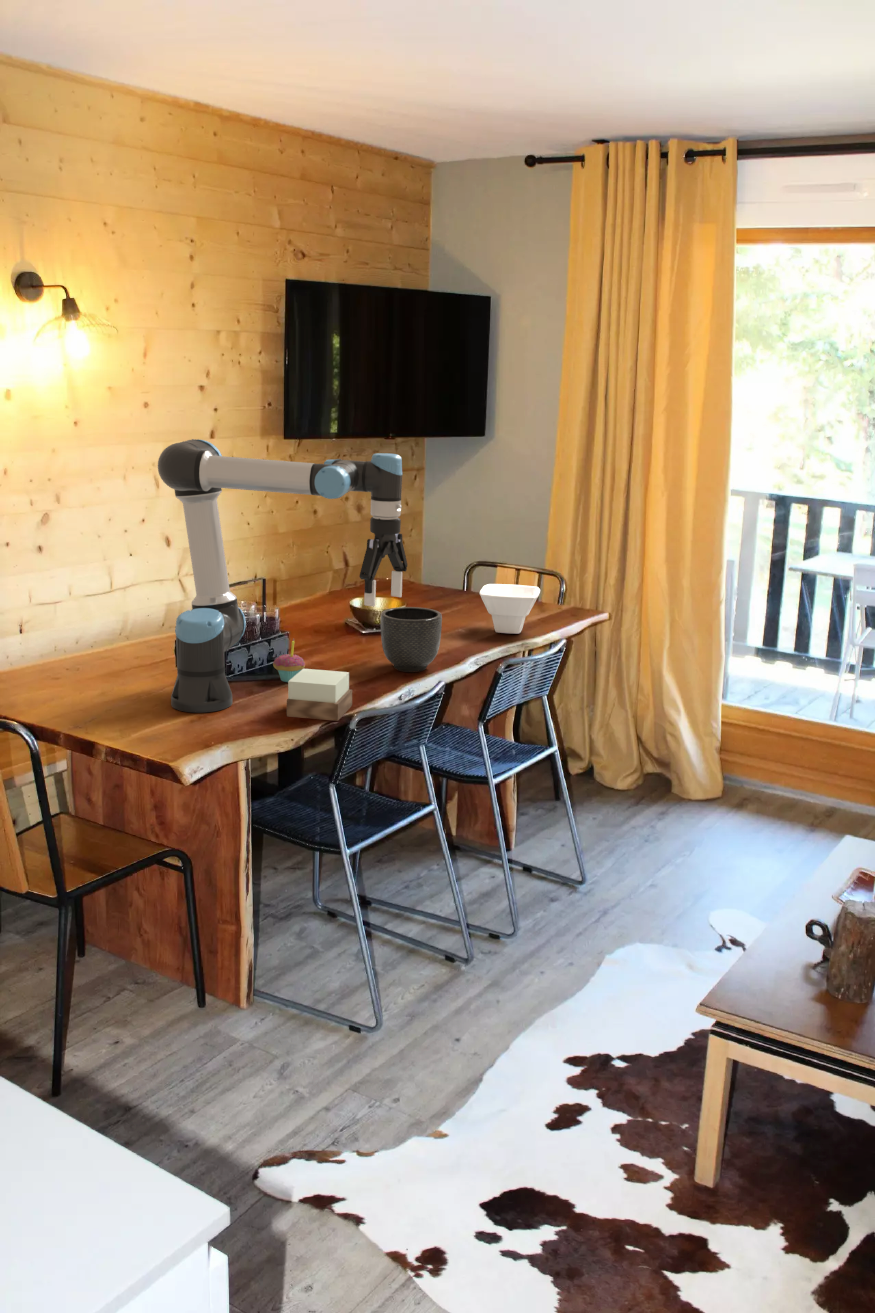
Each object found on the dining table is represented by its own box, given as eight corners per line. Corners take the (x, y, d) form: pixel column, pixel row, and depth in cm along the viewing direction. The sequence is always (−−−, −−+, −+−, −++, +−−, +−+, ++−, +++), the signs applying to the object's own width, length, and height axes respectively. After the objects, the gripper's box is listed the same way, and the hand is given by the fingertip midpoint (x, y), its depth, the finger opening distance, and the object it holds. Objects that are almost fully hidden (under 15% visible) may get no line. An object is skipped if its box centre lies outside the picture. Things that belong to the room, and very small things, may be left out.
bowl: (475, 637, 366) (477, 594, 363) (483, 624, 385) (485, 582, 381) (534, 641, 363) (536, 598, 360) (539, 627, 382) (541, 586, 378)
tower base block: (286, 717, 284) (286, 699, 283) (303, 702, 297) (302, 685, 295) (337, 721, 282) (337, 704, 281) (352, 706, 294) (352, 689, 293)
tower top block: (288, 698, 284) (288, 681, 283) (303, 685, 295) (303, 668, 294) (335, 703, 282) (335, 685, 280) (348, 689, 293) (348, 672, 292)
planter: (406, 680, 318) (407, 623, 314) (367, 666, 330) (368, 611, 326) (453, 670, 329) (454, 615, 325) (414, 657, 341) (415, 604, 337)
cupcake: (311, 680, 315) (311, 637, 312) (287, 686, 309) (286, 642, 306) (291, 673, 321) (290, 631, 318) (266, 679, 315) (266, 636, 312)
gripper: (373, 524, 274) (371, 611, 280) (422, 513, 296) (419, 594, 301) (346, 521, 277) (344, 607, 283) (396, 510, 299) (394, 590, 304)
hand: (383, 601), depth 292 cm, fingers open, 13 cm apart
